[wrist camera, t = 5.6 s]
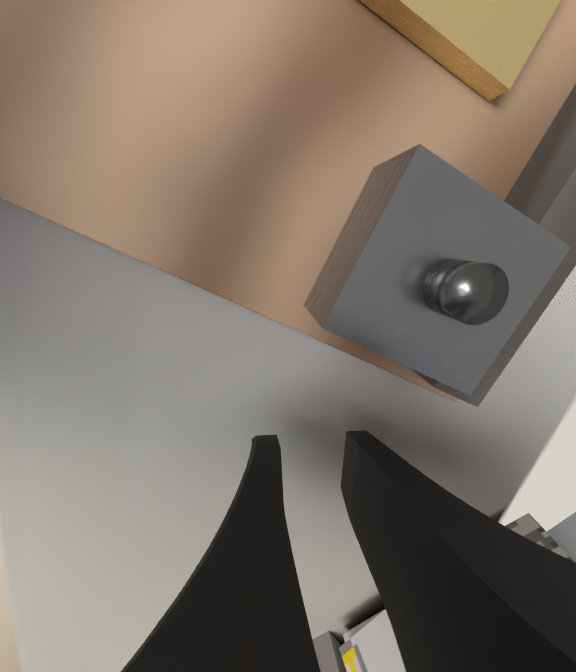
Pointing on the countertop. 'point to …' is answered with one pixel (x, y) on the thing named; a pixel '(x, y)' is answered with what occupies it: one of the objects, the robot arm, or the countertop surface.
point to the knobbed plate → (433, 270)
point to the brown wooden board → (265, 138)
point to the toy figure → (376, 632)
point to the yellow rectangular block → (472, 35)
